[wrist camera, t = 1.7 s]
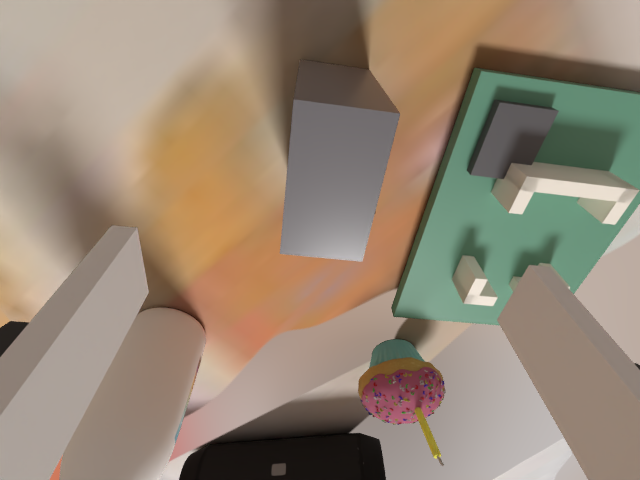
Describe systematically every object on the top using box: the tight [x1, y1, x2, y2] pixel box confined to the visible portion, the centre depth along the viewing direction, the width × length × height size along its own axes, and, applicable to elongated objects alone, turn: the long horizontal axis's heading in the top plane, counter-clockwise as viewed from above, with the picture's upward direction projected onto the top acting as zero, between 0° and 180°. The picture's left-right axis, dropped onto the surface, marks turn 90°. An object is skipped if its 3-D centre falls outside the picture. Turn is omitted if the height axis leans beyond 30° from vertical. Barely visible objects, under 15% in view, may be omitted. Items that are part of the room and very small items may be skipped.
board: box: [392, 68, 640, 325], centre depth 29 cm, size 22×16×4 cm
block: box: [280, 59, 400, 261], centre depth 22 cm, size 9×4×10 cm, turn 172°
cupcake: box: [358, 339, 445, 466], centre depth 35 cm, size 9×8×12 cm
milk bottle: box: [59, 307, 206, 480], centre depth 29 cm, size 8×8×20 cm
